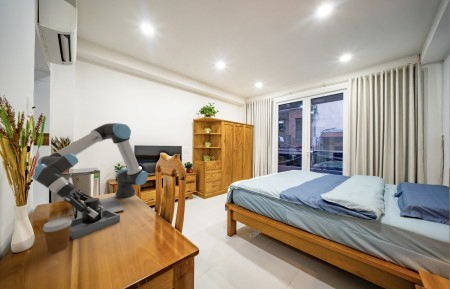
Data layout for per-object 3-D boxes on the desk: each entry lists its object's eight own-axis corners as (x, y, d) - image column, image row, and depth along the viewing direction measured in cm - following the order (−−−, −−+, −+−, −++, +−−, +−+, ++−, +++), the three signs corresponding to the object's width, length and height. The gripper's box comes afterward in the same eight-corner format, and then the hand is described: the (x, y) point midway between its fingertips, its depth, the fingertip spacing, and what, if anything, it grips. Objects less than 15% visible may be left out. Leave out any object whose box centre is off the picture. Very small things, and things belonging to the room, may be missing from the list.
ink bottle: (106, 217, 103) (105, 197, 102) (93, 225, 94) (92, 203, 94) (91, 217, 104) (90, 197, 103) (77, 224, 95) (76, 202, 95)
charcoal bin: (107, 215, 112) (106, 209, 112) (119, 221, 104) (119, 215, 104) (61, 230, 94) (61, 223, 94) (72, 239, 85) (72, 231, 85)
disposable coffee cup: (37, 252, 76) (36, 225, 75) (63, 240, 85) (62, 216, 84) (52, 257, 73) (51, 228, 72) (77, 244, 82) (76, 218, 81)
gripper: (66, 187, 103) (99, 210, 109) (44, 199, 83) (86, 226, 89) (77, 178, 105) (109, 201, 111) (58, 187, 85) (98, 214, 91)
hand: (98, 212), depth 100 cm, fingers closed on ink bottle, 8 cm apart
